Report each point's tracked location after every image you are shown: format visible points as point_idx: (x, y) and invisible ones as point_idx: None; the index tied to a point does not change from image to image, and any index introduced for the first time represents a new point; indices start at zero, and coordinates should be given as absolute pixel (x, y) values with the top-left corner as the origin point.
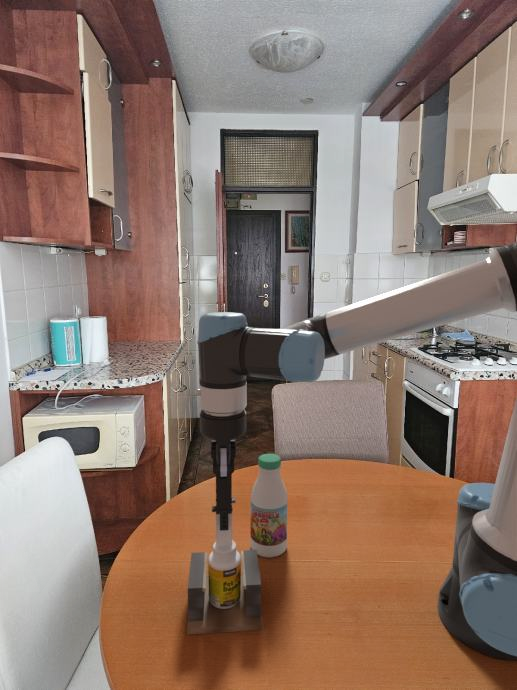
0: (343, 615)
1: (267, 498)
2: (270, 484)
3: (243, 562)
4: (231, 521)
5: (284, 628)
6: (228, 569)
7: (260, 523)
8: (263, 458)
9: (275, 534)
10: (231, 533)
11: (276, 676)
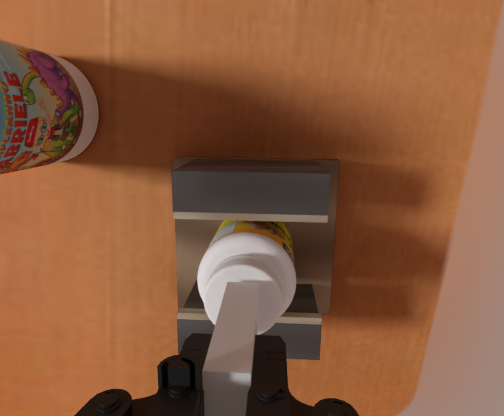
0: None
1: None
2: None
3: (228, 215)
4: (253, 336)
5: (340, 108)
6: (295, 271)
7: (35, 145)
8: None
9: (60, 92)
10: (255, 306)
11: (455, 143)
